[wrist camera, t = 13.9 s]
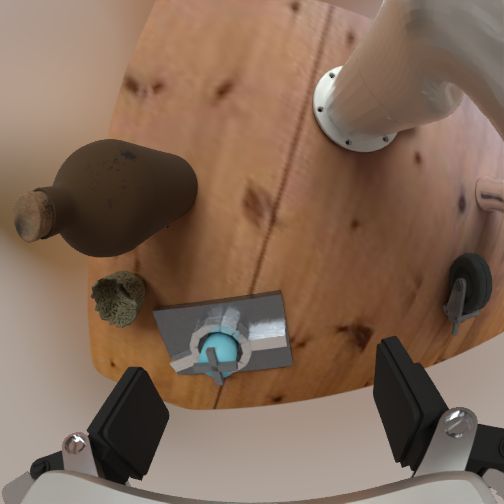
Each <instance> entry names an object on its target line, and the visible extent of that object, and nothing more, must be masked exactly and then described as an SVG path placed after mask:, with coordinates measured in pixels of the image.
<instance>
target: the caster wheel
mask: <svg viewBox="0 0 504 504" xmlns="http://www.w3.org/2000/svg"><path fill="white" fill-rule="evenodd" d="M450 289H451V295H450V298H449V301H448V303H446V304H443V311H445V312H444V313H445V314H447V315H448V319H449V321H451V322H453V328H452V335H457V331H458V326H459V323H462V322H463V321H465V320H466V319H468V318H471V317H474V316H475V317H478V315H479V310H480V309H482V308H484V307H485V305H486V304H487V302H488V301H489V299H490V296H491V292H492V276H491V272H490V269H489V266H488V264H487V263H486V261H485V260H484V258H482V257H481V256H479V255H478V254H466V255H461V256H460V257H458V258H457V259H456V260H455V261H454V263H453V265H452V267H451V272H450Z"/></svg>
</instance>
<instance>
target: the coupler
mask: <svg viewBox="0 0 504 504" xmlns="http://www.w3.org/2000/svg"><path fill="white" fill-rule="evenodd" d="M238 347H239V342H238V341H237V340H236V339H235V338H234V337H233V336H232V335H229V334H226V333H223V332H211V333H209V334H208V336H207V338H206V341H205V343H204V346H203V348H202V351H201V353H200V356H199V359H198V363H194V365H193V370H194V373H199V372H204V373H205V374H206V375H208V376H211V377H214V380H215V383H216V385H223V384H224V377H227V376H229V375H230V374H231V373H232V372H233V371H237V370H238V364H237V361H236V357H237V352H238Z"/></svg>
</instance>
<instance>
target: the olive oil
mask: <svg viewBox="0 0 504 504" xmlns="http://www.w3.org/2000/svg"><path fill="white" fill-rule="evenodd" d="M196 194H197V179H196V175H195V173H194V171H193V169H192V167H191V166H190V165H189V164H188V162H186V161H185V160H184V159H183V158H181V157H179V156H176V155H173V154H169V153H165V152H161V151H157V150H153V149H150V148H146V147H143V146H139V145H136V144H132V143H129V142H125V141H121V140H115V139H106V140H99V141H95V142H93V143H90V144H87V145H85V146H83V147H81V148H80V149H78V150H76V151H75V152H74V153H72V154H71V155H70V156H69V157H68V158H67V159H66V161H65V162H64V163H63V165H62V166H61V168H60V169H59V171H58V173H57V175H56V178H55V181H54V184H53V186H51V187H44V188H37V189H35V190H33V191H29V192H24V193H22V194H20V195H19V197H18V198H17V200H16V202H15V206H14V223H15V226H16V230H17V232H18V234H19V236H20V237H21V238H22V239H23V240H24V241H25V242H28V243H31V242H34V241H36V240H39V239H47V238H49V237H51V236H54V235H56V234H59V233H60V234H61V236H62V237H63V238H64V239H65V241H66V242H67V243H68V244H69V245H70V246H71V247H73V248H74V249H76V250H77V251H79V252H81V253H83V254H85V255H88V256H93V257H113V256H118V255H121V254H124V253H126V252H129V251H131V250H132V249H134V248H135V247H137V246H138V245H139V244H141V243H142V242H144V241H145V240H146V239H148V238H149V237H150V236H152V235H153V234H155V233H156V232H158V231H159V230H161V229H162V228H168V227H169V226H168V227H166V225H168V224H169V223H171V222H173V221H174V220H176V219H178V218H179V217H181V216H182V215H184V214H185V213H186V212H187V211H188V210H189V209H190V208H191V206H192V204H193V203H194V200H195V198H196Z"/></svg>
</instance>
